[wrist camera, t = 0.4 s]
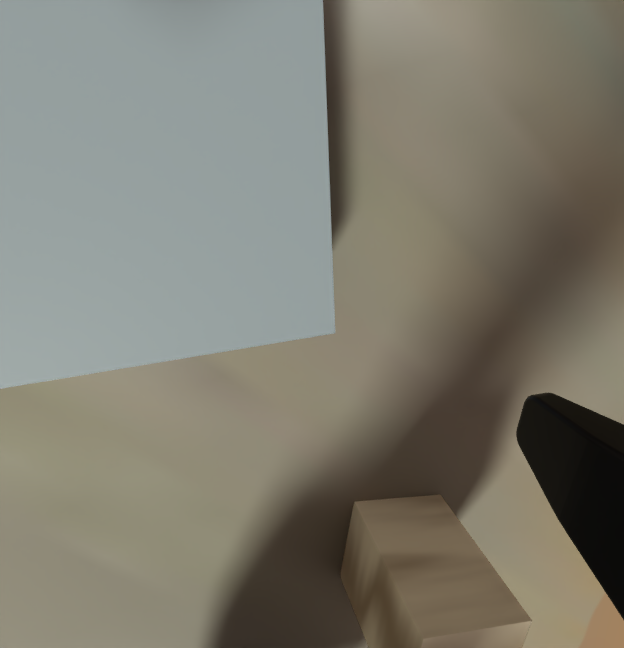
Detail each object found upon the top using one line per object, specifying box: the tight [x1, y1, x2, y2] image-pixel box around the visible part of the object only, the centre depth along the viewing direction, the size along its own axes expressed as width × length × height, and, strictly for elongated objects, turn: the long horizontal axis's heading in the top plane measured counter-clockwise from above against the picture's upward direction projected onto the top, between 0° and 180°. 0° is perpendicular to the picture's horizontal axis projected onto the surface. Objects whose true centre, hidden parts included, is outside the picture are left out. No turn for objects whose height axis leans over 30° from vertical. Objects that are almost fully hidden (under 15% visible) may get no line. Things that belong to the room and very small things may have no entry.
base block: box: [0, 0, 335, 389], centre depth 18 cm, size 11×11×4 cm
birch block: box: [340, 495, 532, 648], centre depth 26 cm, size 5×5×8 cm
